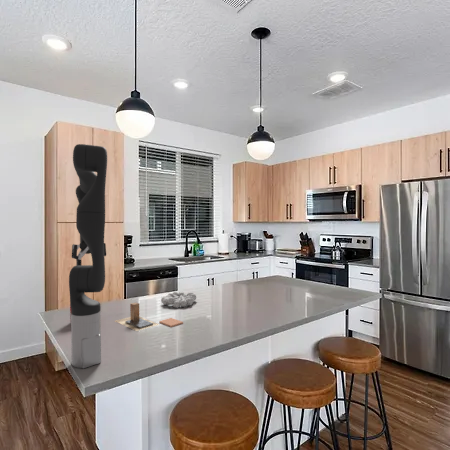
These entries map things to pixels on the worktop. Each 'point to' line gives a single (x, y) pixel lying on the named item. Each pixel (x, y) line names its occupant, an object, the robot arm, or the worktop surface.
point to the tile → (171, 322)
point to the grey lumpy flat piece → (179, 299)
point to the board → (122, 321)
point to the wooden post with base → (136, 317)
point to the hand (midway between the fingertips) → (89, 267)
